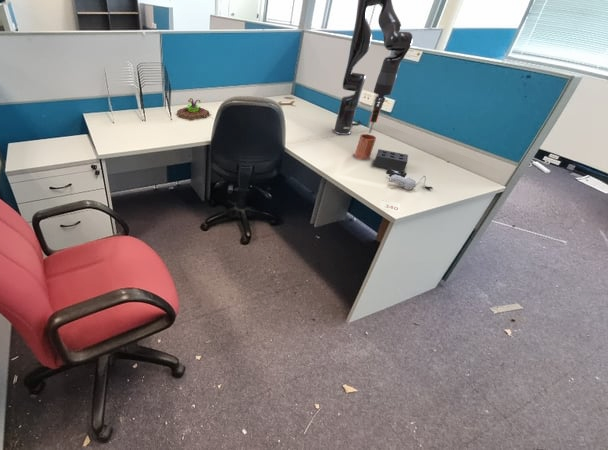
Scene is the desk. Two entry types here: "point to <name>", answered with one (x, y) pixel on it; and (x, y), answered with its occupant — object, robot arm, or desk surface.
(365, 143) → the pen cup
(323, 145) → the desk surface
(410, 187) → the clip-on lamp
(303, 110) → the desk surface
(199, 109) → the plant
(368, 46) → the robot arm
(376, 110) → the orange cylinder rod
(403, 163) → the holder
